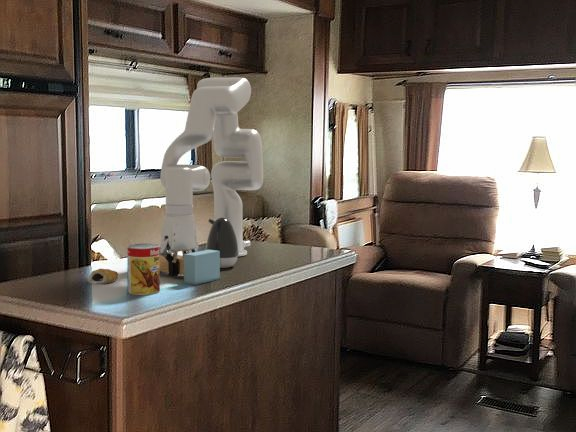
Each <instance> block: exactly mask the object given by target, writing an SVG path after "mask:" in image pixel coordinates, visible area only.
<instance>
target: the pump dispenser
mask: <svg viewBox="0 0 576 432" xmlns="http://www.w3.org/2000/svg"><path fill="white" fill-rule="evenodd" d="M208 223H210V224H211V227H210V229H209V233H208V235H207V240H206V245H205V250H216V251H220V269H228V268H231V267H233V266H234V265H235V264H236V262H237V261H238V255H239V249H238V242H237V238H236V234H235V231H234V229H233V226H232V224H231V223H230V221H229V220H228V219H226V218H218V219H217V220H215V221H214V219H211V218H209V219H208Z"/></svg>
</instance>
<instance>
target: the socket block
mask: <svg viewBox="0 0 576 432" xmlns="http://www.w3.org/2000/svg"><path fill="white" fill-rule="evenodd" d="M220 271H221V268H220V251H216V250H206V249H204V250H200V251H199V250H198V251H195V252H193V253H187V254H184V275H183V283H184V284H188V285H193V286H196V285H200V284H201V285H202V284H206V283H210V282H215V281H218V280H220V279H221V275H220V274H221V272H220Z"/></svg>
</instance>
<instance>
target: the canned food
mask: <svg viewBox="0 0 576 432" xmlns="http://www.w3.org/2000/svg"><path fill="white" fill-rule="evenodd" d="M159 247H160V245H159V244H157V243H150V242H149V243H144V242H143V243H133V244H129V245H127V248H128V257H127V281H128V282H127V285H128V286H127V287H128V288H127V289H128V290H127V291H128V294H130V295H135V296H149V295H150V296H151V295H157V294H158V293H160V290H161V288H160V285H161V282H160V280H161V279H160V277H161V276H160V275H161V274H160V273H161V272H159Z"/></svg>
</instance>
